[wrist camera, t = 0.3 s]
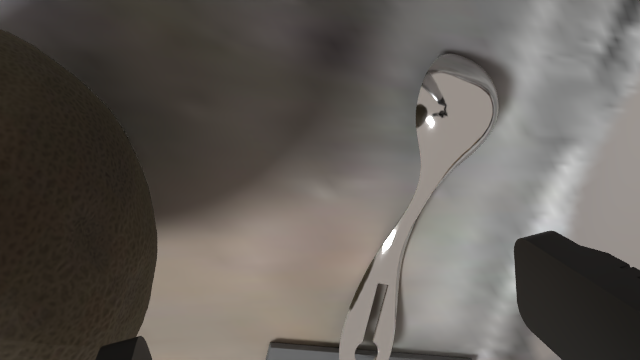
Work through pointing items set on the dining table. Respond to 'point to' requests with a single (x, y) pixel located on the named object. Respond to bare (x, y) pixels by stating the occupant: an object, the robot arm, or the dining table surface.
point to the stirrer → (425, 183)
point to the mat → (336, 353)
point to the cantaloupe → (67, 215)
